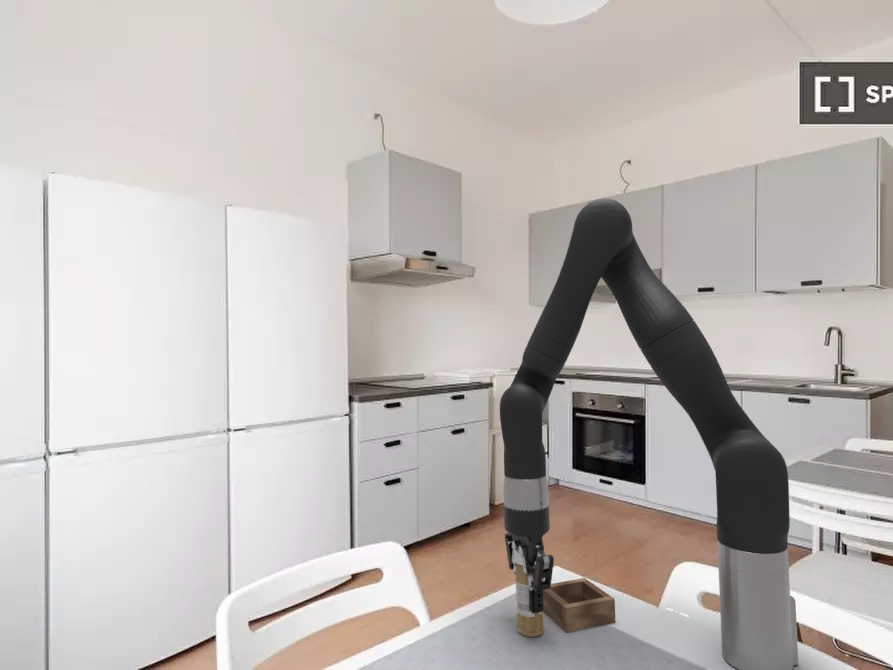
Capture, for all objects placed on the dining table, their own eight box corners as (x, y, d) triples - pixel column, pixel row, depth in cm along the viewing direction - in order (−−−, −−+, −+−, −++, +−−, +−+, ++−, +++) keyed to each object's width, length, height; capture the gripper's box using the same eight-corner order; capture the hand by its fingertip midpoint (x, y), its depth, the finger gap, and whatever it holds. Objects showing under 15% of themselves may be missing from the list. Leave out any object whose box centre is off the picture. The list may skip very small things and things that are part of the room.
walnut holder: (585, 599, 104) (584, 577, 104) (615, 622, 95) (614, 598, 95) (540, 608, 101) (539, 585, 101) (566, 632, 92) (565, 608, 92)
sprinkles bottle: (550, 632, 92) (547, 550, 93) (529, 641, 90) (526, 556, 90) (531, 621, 96) (528, 542, 96) (511, 629, 94) (508, 548, 94)
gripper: (567, 510, 88) (571, 620, 87) (527, 490, 101) (530, 585, 101) (524, 516, 86) (528, 629, 85) (489, 494, 99) (492, 591, 99)
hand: (529, 604), depth 93 cm, fingers closed on sprinkles bottle, 4 cm apart
